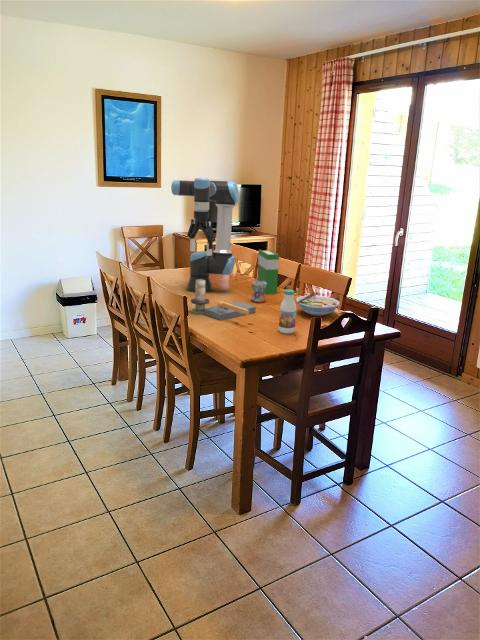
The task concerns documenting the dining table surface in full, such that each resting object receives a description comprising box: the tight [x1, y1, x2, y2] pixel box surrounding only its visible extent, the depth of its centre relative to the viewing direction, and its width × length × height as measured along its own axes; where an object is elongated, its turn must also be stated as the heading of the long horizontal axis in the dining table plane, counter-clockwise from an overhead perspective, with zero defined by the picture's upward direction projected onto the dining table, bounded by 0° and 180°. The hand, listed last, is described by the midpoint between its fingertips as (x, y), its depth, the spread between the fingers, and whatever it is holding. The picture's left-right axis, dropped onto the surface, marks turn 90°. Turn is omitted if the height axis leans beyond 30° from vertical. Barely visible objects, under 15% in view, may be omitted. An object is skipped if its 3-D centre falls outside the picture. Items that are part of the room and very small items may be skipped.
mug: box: [250, 280, 267, 303], centre depth 287 cm, size 12×9×11 cm
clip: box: [217, 300, 250, 316], centre depth 247 cm, size 4×21×2 cm, turn 44°
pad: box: [190, 307, 205, 315], centre depth 263 cm, size 9×9×1 cm
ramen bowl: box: [296, 292, 340, 317], centre depth 265 cm, size 25×23×8 cm
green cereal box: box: [256, 248, 280, 295], centre depth 308 cm, size 18×7×24 cm, turn 14°
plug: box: [190, 279, 210, 312], centre depth 260 cm, size 10×10×16 cm
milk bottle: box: [278, 289, 297, 335], centre depth 234 cm, size 8×8×20 cm
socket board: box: [203, 301, 257, 321], centre depth 261 cm, size 13×24×6 cm, turn 132°
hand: (200, 253), depth 254 cm, fingers open, 13 cm apart
